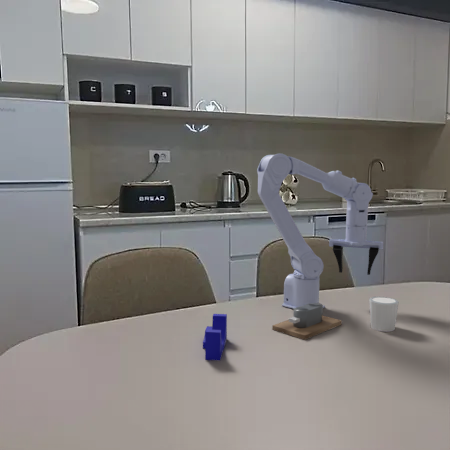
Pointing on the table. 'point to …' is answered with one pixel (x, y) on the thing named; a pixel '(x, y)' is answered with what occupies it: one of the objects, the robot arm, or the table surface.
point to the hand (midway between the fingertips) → (354, 272)
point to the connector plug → (307, 315)
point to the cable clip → (215, 337)
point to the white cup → (383, 313)
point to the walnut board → (309, 331)
